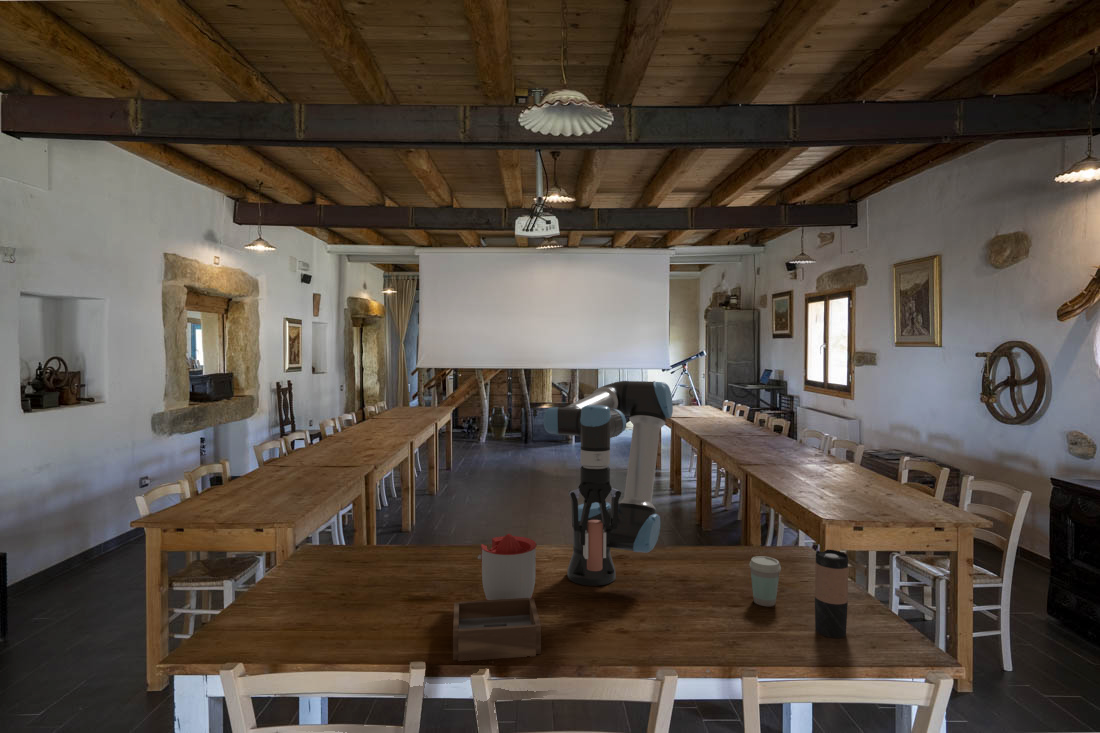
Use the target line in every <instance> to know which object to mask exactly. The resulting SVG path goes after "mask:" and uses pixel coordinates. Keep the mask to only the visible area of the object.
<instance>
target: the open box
mask: <svg viewBox="0 0 1100 733" xmlns="http://www.w3.org/2000/svg"><path fill="white" fill-rule="evenodd" d="M452 623H453V624H452V625H453V626H452V628H453V629H452V660H453V661H457V662H468V661H469V662H470V660H471V661H481V660H482V661H483V660H497V659H498V660H499V659H513V658H515V659H516V658H525V657H527V656H530V657H537V655H536V654H540V655H542V643H541V642H542V624H541V620H540V617H539V613H538V609H537V606H536V602H535V599H534V598H531V599H529V598H516V599H498V600H486V599H485V600H481V599H480V600H465V601H464V600H462V601H459V602H454V605H453V622H452ZM527 658H528V657H527Z"/></svg>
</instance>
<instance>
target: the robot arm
mask: <svg viewBox="0 0 1100 733" xmlns="http://www.w3.org/2000/svg"><path fill="white" fill-rule="evenodd" d="M673 408H674V406H673V395H672V391H671V388H670V386H669V385H668V384H667V383H666V382H662V381H661V382H660V381H656V380H653V381H643V380H642V381H640V380H622V381H621V380H619V381H615V382H612V383H608V384H605V385H603V386H601V387H597V389H596V388H595V390H593V392H592V393H591V395H588V396H586V397H584V398H581V399H579V400H577V401H575V402H573V403H571V404H569V405H567V406H564V407H558V406H556V407H555V406H554V407H549V408H547V409H546V410H545V413H544V415H543V427H544V429H545V431H546V433H548V434H551V435H557V436H559V435H560V436H561V435H562V436H563V435H564V436H577V437H580V465H581V467H580V476H579V477H580V478H579V479H580V480H579V482H580V483H579V485H578V486H577V487H578V488H576V489H574V490H569V491H568V495H569V497H570V501H571V503H570V504H571V524H572V525H571V526H572V531H573V532H572V540H573V543H572V545H573V547H572V548H573V549H572V550H573V551H572V554H571V558H570V561H569V564H568V567H567V578H568V580H569V581H571V582H573V583H575V584H577V585H581V586H591V587H595V586H596V587H597V586H604V585H608V584H611V583H613V582H614V581H615V580H616V575H617V574H616V567H615V565H614V561H613V558H612V555H611V549H616V550H617V549H618V550H623V551H630V552H634V553H649V552H652V550H653V549H654V548H655V546H656V544H657V542H658V539H659V536H660V531H661V517H660V514H657V513H656V512H657V510H656V507H655V506H654V504H653V503H652V501H653V500H652V499H653V492H654V484H655V474H656V467H657V466H656V464H657V458H658V449H659V448H658V447H659V441H660V440H659V438H660V433H661V432H660V431H661V428H663V427H664V426H665V425H666V420H667V419H671V418H672V416H673V410H674V409H673ZM626 416H627V417H629V421H630V423H631V424H632V432H631V441H630V442H631V443H630V449H629V454H628V455H629V456H628V465H627V472H626V480H625V485H624V486H625V488H624V494H623V495H624V496H623V499H622V500H620V498H621V495H622V491H621V490H619V489H617V488H613V487H612V485H611V469H610V467H609V466H610V464H611V439H613V438H615V437H618V436H620V435H621V434H622V433H624V431H625V429H626V427H627V418H626ZM609 494H610V496H611V503H610V502H607V501H606V499H607V498H608V496H609ZM579 495H581V496H582V497H583V503H581V504H579V501H578V499H579V498H580V496H579ZM589 520H600V521H602V522H603V564H602V570H601V571H590V570H588V569H587V559H588V532H587V522H588V521H589Z"/></svg>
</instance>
